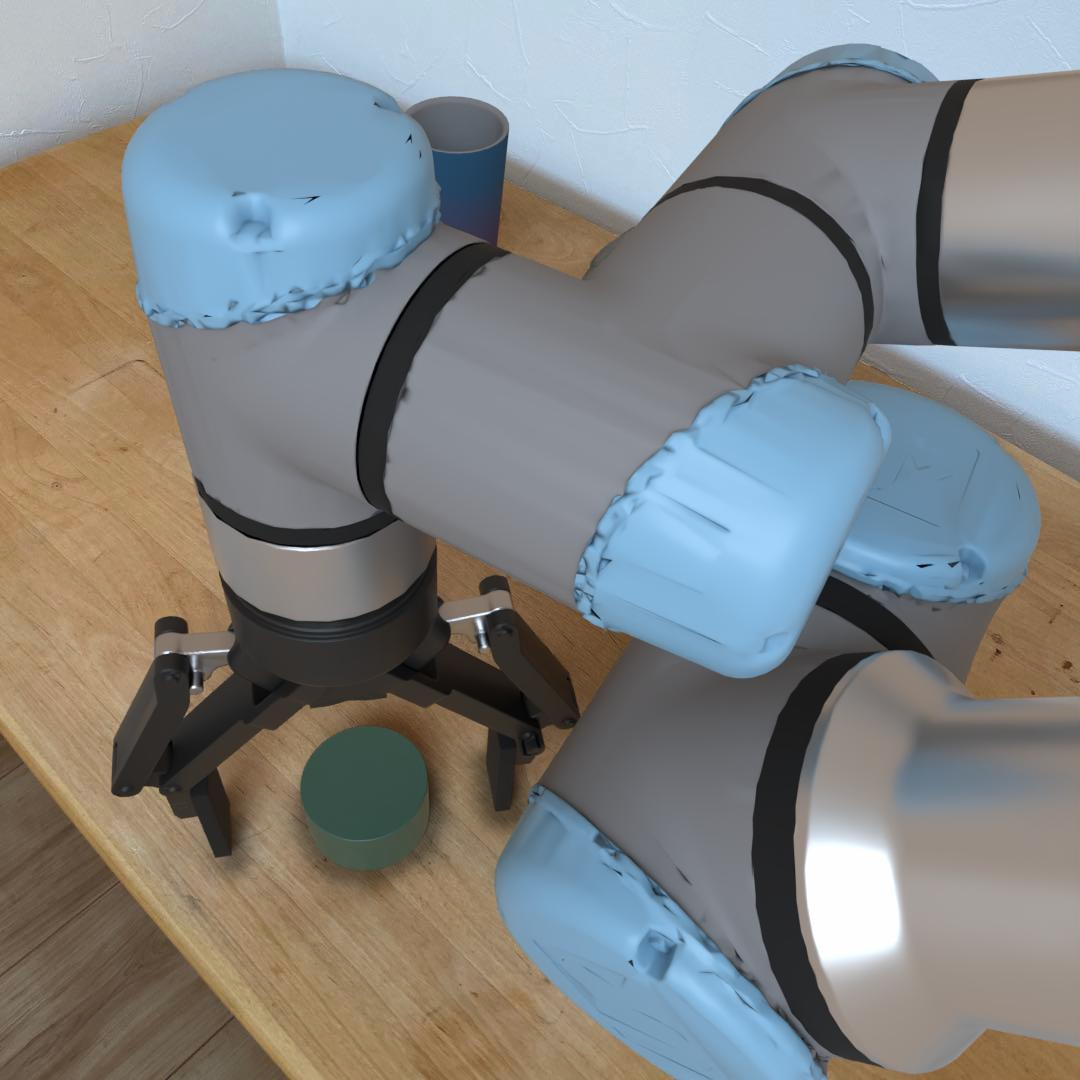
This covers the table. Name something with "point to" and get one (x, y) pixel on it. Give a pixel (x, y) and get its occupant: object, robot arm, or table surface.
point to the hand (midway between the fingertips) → (363, 808)
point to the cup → (467, 161)
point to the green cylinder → (366, 797)
